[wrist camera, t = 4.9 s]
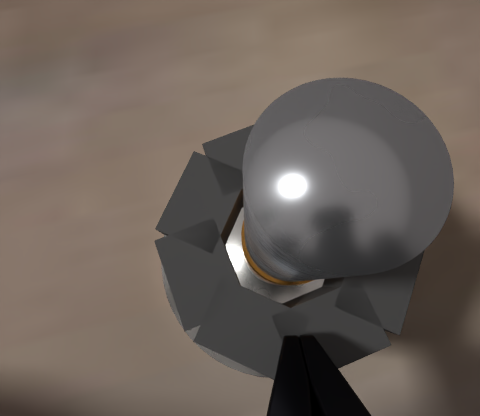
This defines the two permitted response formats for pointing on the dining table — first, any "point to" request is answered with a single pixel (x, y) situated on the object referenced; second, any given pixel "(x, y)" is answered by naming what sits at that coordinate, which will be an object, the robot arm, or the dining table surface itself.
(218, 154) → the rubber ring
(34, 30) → the dining table surface
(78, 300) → the dining table surface
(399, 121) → the pipe stand
